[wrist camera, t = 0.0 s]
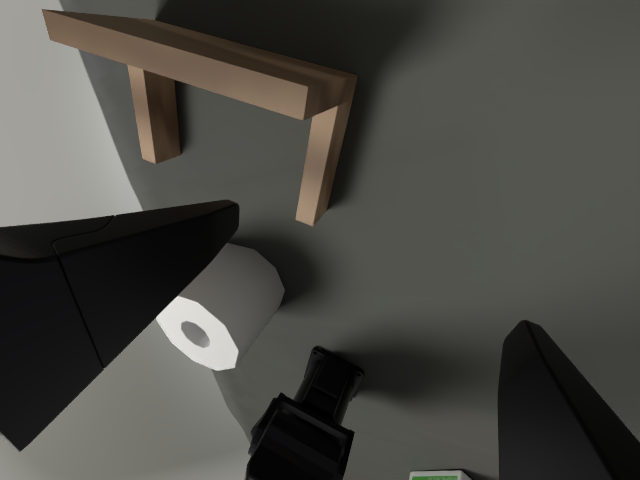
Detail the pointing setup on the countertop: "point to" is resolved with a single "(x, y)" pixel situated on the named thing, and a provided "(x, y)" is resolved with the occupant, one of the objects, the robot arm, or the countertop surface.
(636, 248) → the countertop surface
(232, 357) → the toilet tissue
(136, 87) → the roll cradle
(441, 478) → the skincare box
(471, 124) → the countertop surface
